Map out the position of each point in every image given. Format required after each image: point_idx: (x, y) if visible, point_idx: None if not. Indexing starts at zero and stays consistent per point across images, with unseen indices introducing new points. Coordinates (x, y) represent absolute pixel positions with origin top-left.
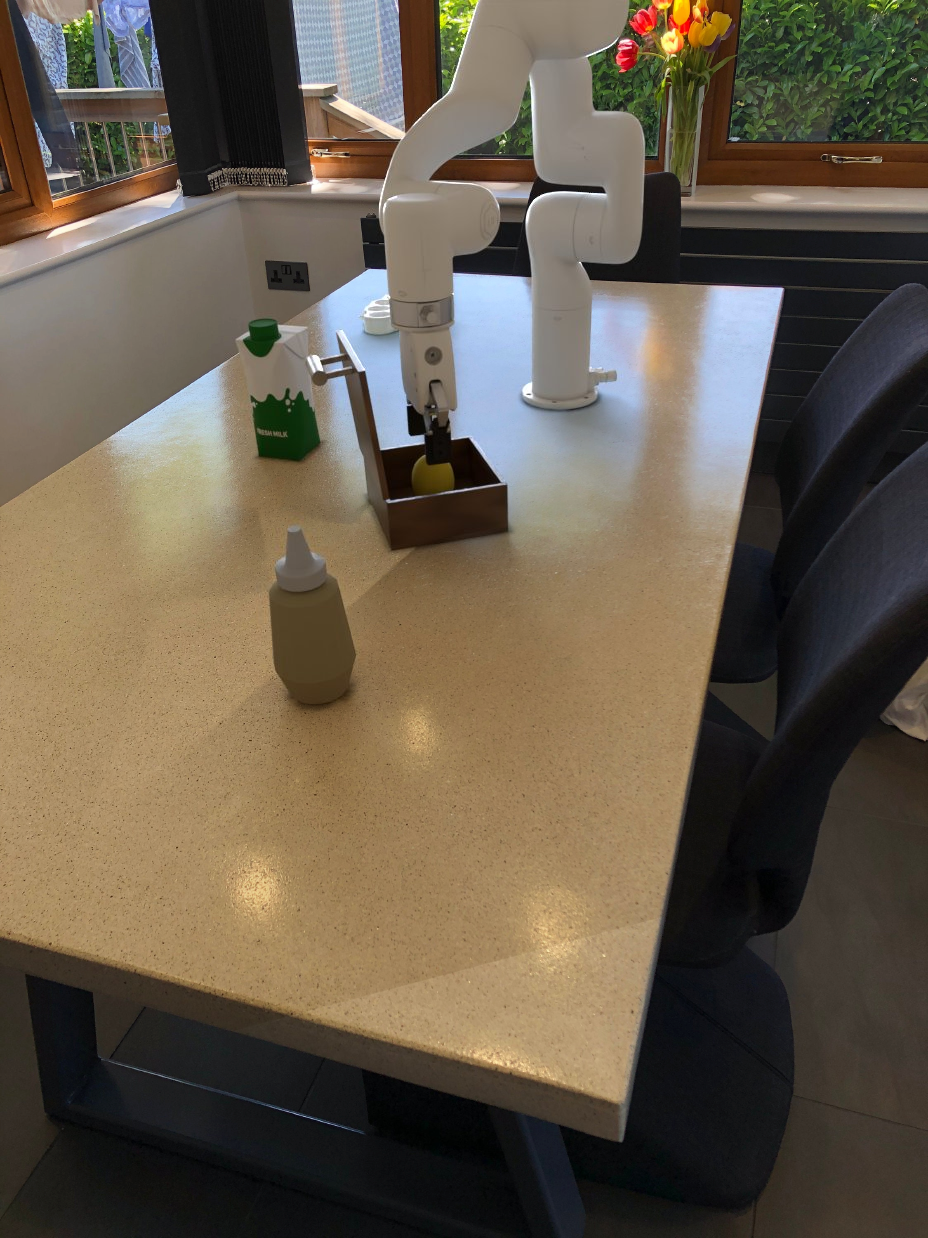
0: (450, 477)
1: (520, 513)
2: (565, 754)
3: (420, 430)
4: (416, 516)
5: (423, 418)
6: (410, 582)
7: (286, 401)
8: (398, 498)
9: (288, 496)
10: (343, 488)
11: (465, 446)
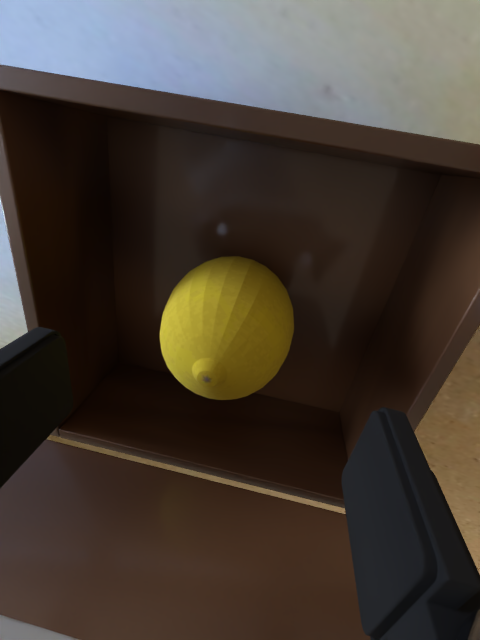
0: (278, 301)
1: (384, 58)
2: None
3: (56, 387)
4: None
5: (9, 414)
6: (469, 434)
7: None
8: None
9: (82, 448)
10: None
11: (31, 116)
